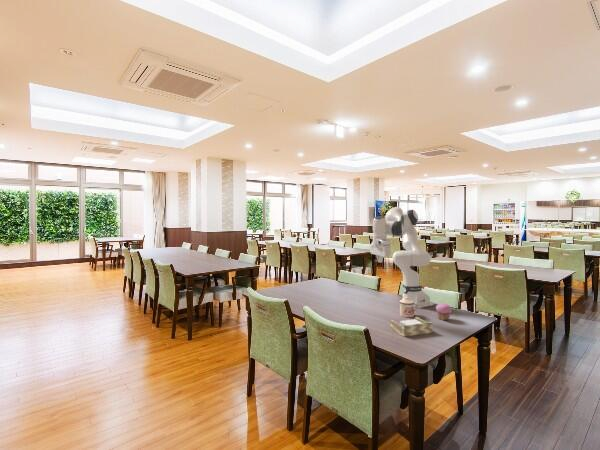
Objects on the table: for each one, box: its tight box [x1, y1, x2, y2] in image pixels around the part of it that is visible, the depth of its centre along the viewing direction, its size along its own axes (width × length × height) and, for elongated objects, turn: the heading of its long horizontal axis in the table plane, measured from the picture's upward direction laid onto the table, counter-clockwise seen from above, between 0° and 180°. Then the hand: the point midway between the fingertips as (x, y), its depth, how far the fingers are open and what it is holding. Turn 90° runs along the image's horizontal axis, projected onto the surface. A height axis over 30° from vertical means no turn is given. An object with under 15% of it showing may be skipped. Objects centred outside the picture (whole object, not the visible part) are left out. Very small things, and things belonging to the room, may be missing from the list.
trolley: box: [399, 318, 421, 326], centre depth 177 cm, size 11×9×5 cm
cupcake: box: [435, 302, 453, 321], centre depth 194 cm, size 9×9×10 cm
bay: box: [389, 316, 433, 337], centre depth 177 cm, size 18×14×6 cm
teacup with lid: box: [399, 297, 418, 318], centre depth 204 cm, size 12×9×12 cm
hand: (379, 262), depth 206 cm, fingers closed
